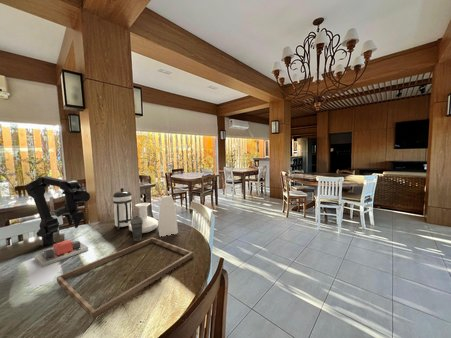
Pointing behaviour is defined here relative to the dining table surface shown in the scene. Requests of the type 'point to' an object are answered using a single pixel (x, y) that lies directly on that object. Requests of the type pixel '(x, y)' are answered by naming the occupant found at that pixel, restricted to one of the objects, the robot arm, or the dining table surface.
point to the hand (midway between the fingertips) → (73, 226)
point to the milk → (167, 217)
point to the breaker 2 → (76, 244)
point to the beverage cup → (137, 227)
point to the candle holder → (145, 218)
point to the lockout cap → (62, 247)
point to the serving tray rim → (128, 293)
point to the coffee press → (122, 208)
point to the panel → (55, 258)
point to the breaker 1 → (48, 253)
